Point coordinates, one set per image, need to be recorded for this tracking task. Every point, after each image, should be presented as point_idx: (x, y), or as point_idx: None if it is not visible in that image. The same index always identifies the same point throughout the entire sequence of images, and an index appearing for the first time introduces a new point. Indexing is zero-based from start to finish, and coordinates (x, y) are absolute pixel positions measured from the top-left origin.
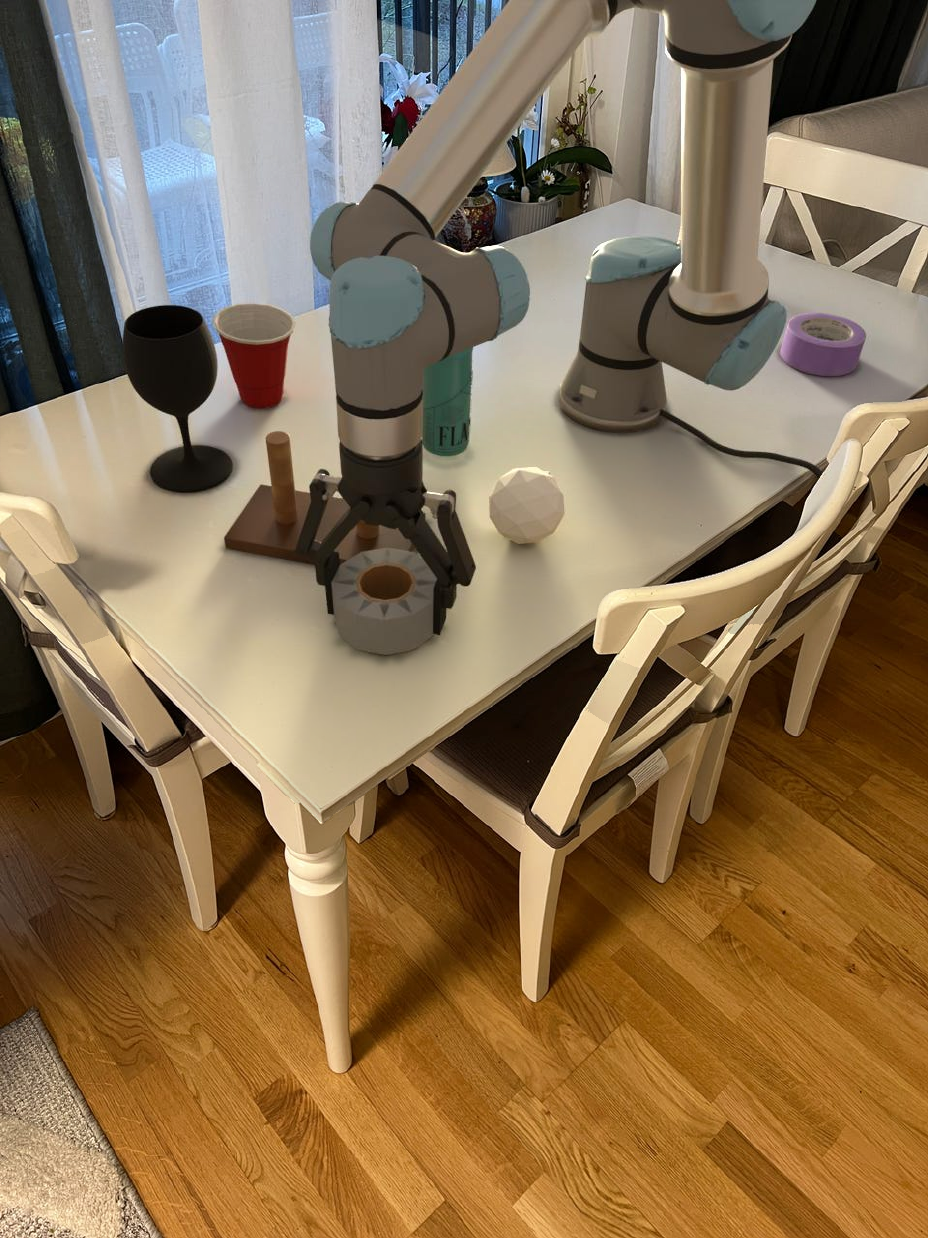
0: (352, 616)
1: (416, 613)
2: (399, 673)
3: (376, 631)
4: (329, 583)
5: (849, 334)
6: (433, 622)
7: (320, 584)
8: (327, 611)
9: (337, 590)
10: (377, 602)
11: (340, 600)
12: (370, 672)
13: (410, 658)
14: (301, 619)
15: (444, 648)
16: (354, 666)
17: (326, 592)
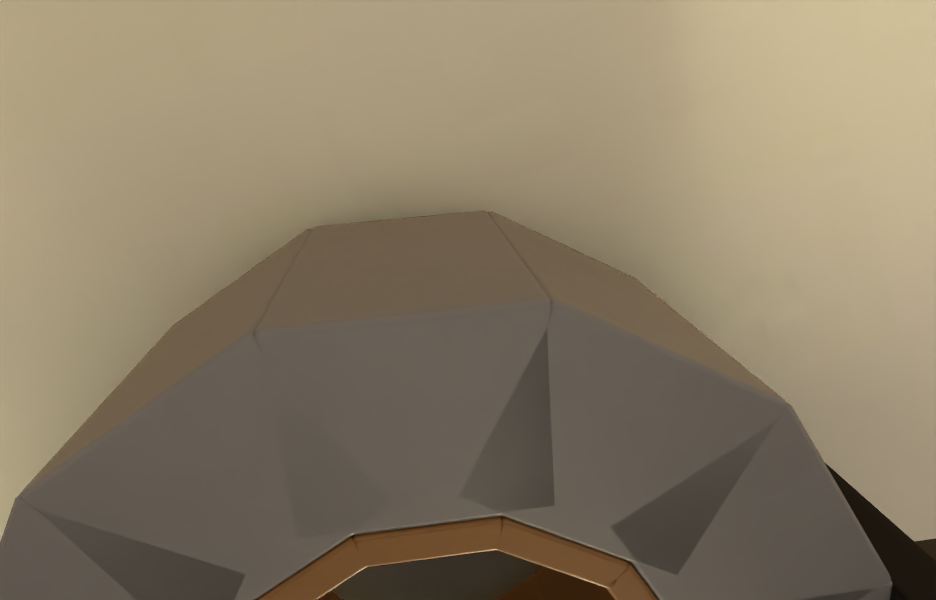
0: (587, 303)
1: (8, 531)
2: (201, 158)
3: (352, 272)
4: (894, 566)
5: None
6: None
7: (927, 544)
8: None
9: (818, 516)
10: (419, 517)
11: (758, 418)
12: (366, 105)
13: (198, 293)
14: (863, 345)
15: (59, 428)
16: (475, 118)
17: (857, 499)
